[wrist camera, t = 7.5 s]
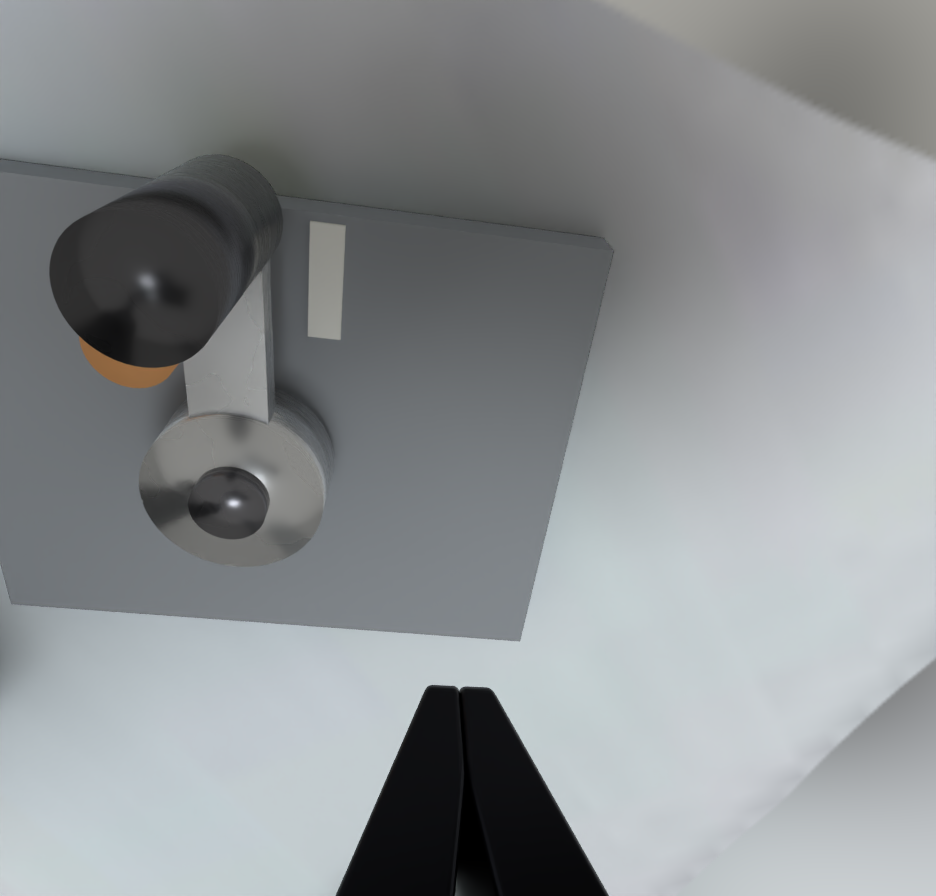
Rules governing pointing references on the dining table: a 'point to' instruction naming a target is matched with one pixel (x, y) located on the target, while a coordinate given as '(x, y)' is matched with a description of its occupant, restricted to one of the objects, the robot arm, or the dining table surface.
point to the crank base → (330, 398)
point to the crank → (202, 356)
